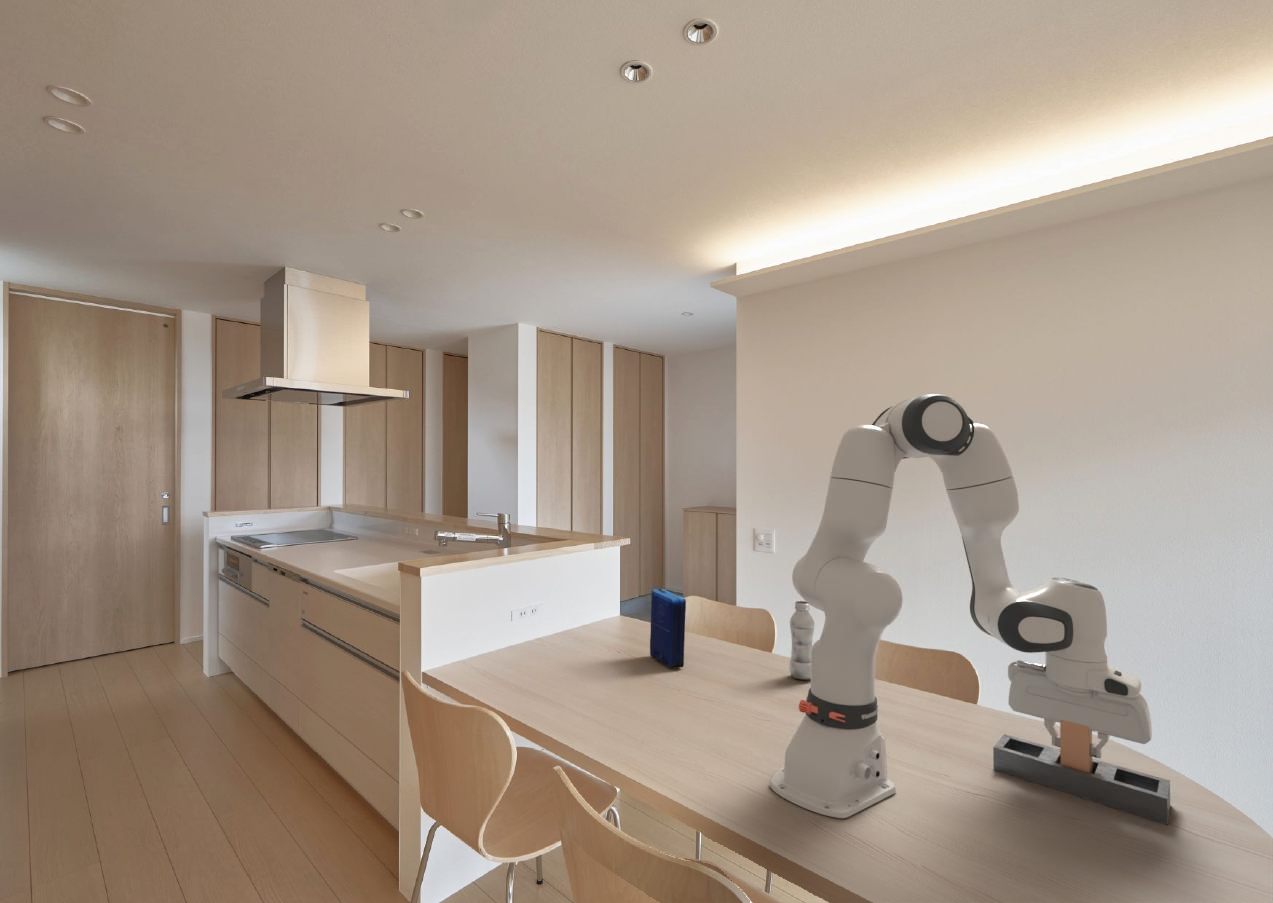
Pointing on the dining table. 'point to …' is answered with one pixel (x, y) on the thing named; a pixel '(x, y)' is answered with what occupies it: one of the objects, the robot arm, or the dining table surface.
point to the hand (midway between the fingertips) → (1076, 750)
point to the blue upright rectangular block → (667, 628)
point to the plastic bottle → (801, 641)
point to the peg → (1075, 746)
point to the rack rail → (1085, 778)
